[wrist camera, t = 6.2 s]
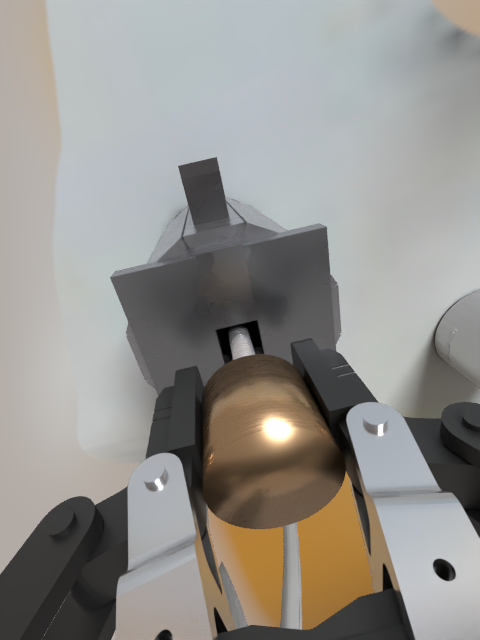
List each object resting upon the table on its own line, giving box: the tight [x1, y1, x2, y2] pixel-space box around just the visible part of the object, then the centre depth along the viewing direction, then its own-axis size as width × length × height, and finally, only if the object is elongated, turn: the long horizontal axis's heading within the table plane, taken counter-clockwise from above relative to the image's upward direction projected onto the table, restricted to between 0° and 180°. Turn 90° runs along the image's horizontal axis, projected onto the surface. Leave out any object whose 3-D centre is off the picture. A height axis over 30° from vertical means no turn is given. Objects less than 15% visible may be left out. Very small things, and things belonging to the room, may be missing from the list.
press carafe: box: [110, 157, 341, 395], centre depth 20 cm, size 9×12×15 cm
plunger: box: [201, 323, 346, 529], centre depth 15 cm, size 7×7×18 cm
